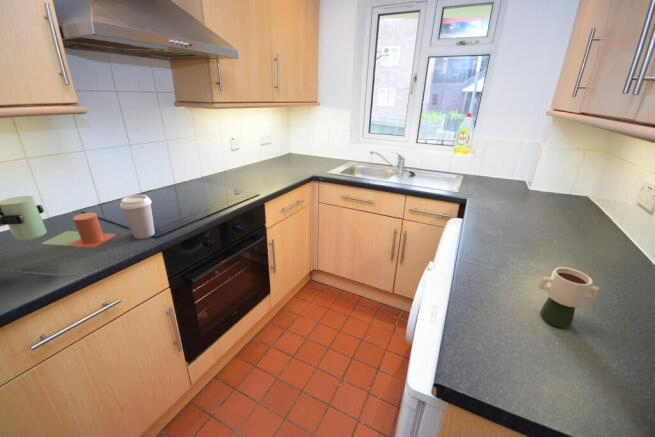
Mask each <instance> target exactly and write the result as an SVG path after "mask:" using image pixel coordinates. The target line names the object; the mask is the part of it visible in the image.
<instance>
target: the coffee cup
mask: <svg viewBox="0 0 655 437" xmlns="http://www.w3.org/2000/svg"><path fill="white" fill-rule="evenodd" d="M152 203H153V201H152V199H151V198H150V197H149V196H148V195H146V194H132V195H128V196H125V197H123V198H122V199H121V201H120V204H119V208H120V209H122V211H123V214H124V215H125V219H126V220H127V223H128V225H129V228H130V230H131V233H132V235H133V238H134V239H137V240H142V239H147V238H150V237H152V236H154V235H155V234H156V233H155V225H154V218H153V210H152Z"/></svg>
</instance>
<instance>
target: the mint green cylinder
mask: <svg viewBox="0 0 655 437" xmlns="http://www.w3.org/2000/svg"><path fill="white" fill-rule="evenodd" d="M36 205H37V204H36V201H35V199H34V197H33V196H31V195H23V196H22V195H21V196H13V197H10V198H9V197H8V198H6V199H2V200H0V208H1V211H2V213H3V215H4V216H7V215H21V216H22V217H23V220H24V223H22V224H12V225H7V226H8V228H9V230H10V232H11V234H12V237H13V239H14V241H19V242H21V241H22V242H23V241H29V240H33V239H34V240H35V239H37V238H40V237H43V236H44V235H46V234H47V233H48V230H47V228H46V226H45V223H44V221H43V218H42V214H41V213H39V211H38V208H37V206H36Z"/></svg>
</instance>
